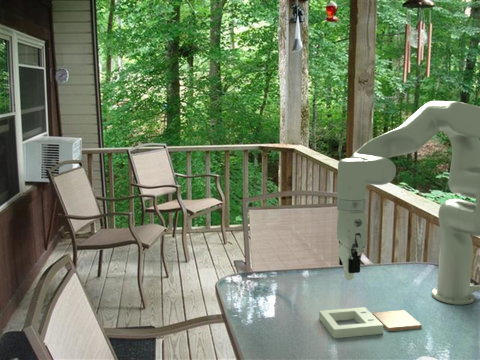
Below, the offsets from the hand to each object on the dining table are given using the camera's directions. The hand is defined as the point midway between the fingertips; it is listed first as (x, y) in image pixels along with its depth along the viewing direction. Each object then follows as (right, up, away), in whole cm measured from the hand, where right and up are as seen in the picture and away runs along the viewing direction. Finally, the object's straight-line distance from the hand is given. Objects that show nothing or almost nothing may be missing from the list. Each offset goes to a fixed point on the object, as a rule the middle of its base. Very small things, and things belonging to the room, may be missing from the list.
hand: (349, 267), depth 143 cm
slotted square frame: (+1, -17, +3) cm, 17 cm away
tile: (+15, -16, +6) cm, 23 cm away
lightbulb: (0, -4, +1) cm, 4 cm away
